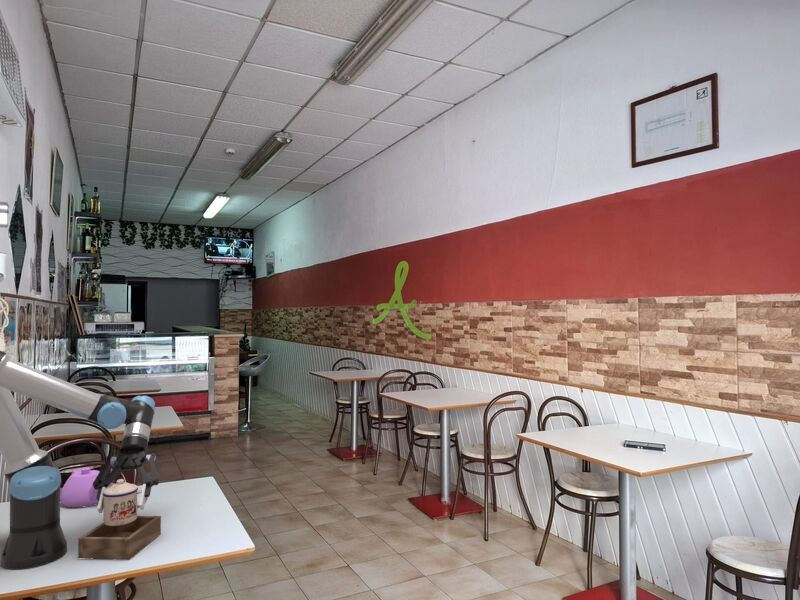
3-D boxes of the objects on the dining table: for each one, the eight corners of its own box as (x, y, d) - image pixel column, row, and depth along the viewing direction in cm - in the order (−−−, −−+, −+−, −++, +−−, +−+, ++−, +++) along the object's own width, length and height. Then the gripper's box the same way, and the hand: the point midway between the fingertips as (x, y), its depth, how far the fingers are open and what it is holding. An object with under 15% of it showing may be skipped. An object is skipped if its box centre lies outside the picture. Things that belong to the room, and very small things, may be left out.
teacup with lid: (108, 529, 151) (108, 487, 152) (98, 521, 158) (98, 480, 158) (153, 517, 160) (152, 477, 160) (142, 509, 166) (141, 471, 166)
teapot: (49, 501, 198) (49, 467, 198) (95, 490, 210) (95, 458, 210) (74, 514, 184) (74, 478, 184) (121, 502, 196) (121, 468, 197)
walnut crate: (78, 558, 150) (78, 538, 150) (114, 533, 167) (114, 515, 167) (129, 559, 149) (129, 539, 149) (160, 534, 166) (160, 515, 167)
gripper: (175, 445, 176) (165, 511, 161) (98, 450, 172) (80, 518, 156) (172, 432, 171) (161, 499, 156) (92, 436, 167) (73, 506, 151)
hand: (120, 509), depth 156 cm, fingers closed on teacup with lid, 10 cm apart
